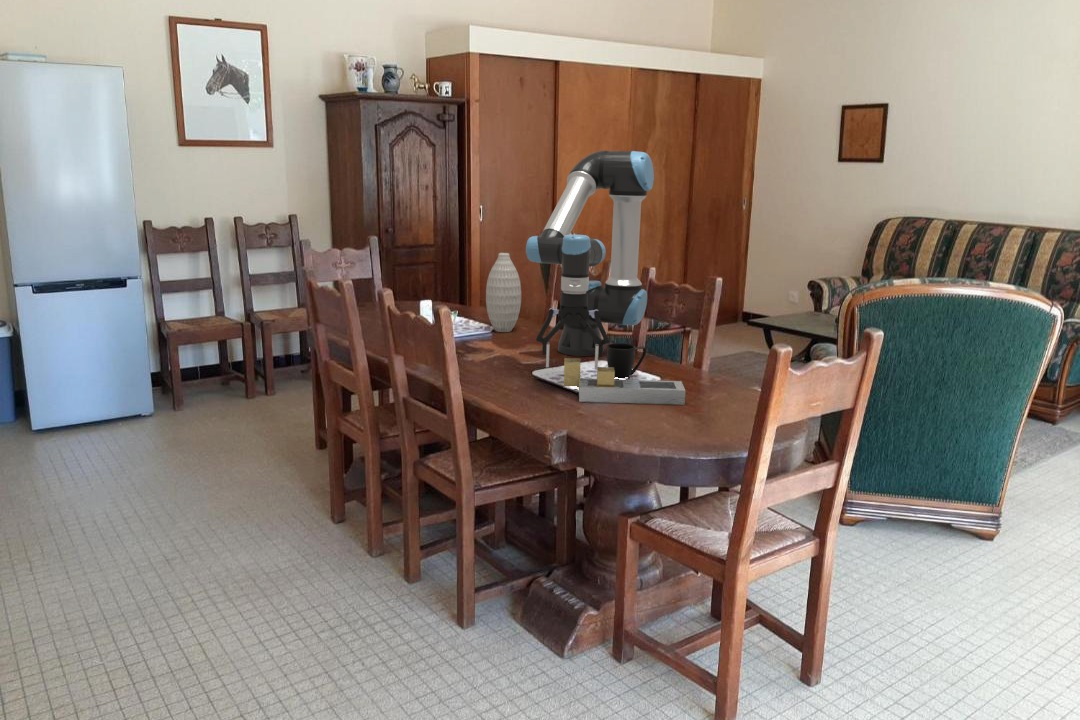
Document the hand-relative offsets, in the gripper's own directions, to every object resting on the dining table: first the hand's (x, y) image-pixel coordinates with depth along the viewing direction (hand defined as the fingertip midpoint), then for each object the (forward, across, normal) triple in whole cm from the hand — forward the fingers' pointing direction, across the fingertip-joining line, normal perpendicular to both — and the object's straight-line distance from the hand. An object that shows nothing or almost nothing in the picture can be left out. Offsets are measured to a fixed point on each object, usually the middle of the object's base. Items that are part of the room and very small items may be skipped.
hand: (571, 367), depth 240 cm
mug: (+6, +16, +14) cm, 22 cm away
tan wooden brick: (+6, +9, -8) cm, 14 cm away
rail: (+6, +16, -8) cm, 19 cm away
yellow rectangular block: (+6, 0, 0) cm, 6 cm away
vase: (+5, -25, +74) cm, 78 cm away
